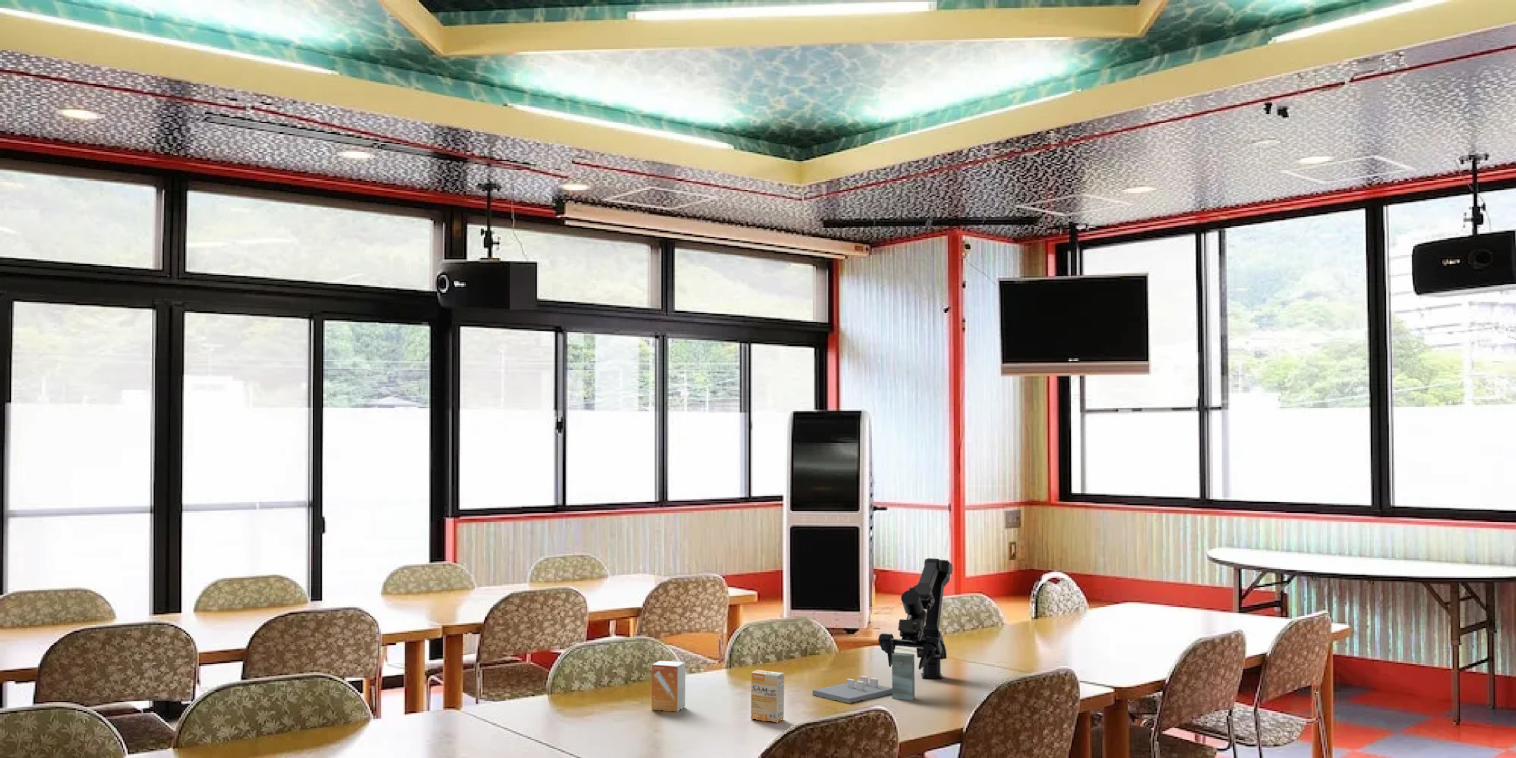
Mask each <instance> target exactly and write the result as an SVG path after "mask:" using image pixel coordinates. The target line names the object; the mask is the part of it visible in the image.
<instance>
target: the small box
mask: <svg viewBox="0 0 1516 758" xmlns="http://www.w3.org/2000/svg"><path fill="white" fill-rule="evenodd" d="M651 667H652V668H651V711H661V710H663V711H662V712H671V711H678V712H680V711H681V710H683V709H684V708H683V707H686V662H684V661H673V660H672V661H671V660H668V661H667V660H658V661H656V662H654V663H653V664H651ZM682 708H683V709H682ZM680 709H681V710H680ZM679 710H680V711H679Z"/></svg>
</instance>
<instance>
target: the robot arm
mask: <svg viewBox="0 0 1516 758" xmlns="http://www.w3.org/2000/svg"><path fill="white" fill-rule="evenodd" d="M923 565H924V567H923V569H922V572H921V575H920V576H919V580H918V583H917V584H915V585H914V586H912V587H909V589H908V590H906V591H904V592H903V593H902V594H901V597H900V600H901V602H902V606H903V609H904V612H905V614H906V619H904V618H903V619H902V618H901V619H898V627H897V630H898V631H899V637H901V638H895V637H894V635H893V633H883V632H882V633H880V634H879V635H878V639H877V641H878V644H879V647H880V649H881V651H883V652H885V654H887V661H888V667H889V668H892V654H894V653H896V652H895V651H896V647H906V648H913V649H916V657H917V658H920V659H919V663H918V670H922V672H921V673H920V675H921V678H922V679H943V675H942V673H941V667H942V666H941V663H942V662H941V661H942V660H946V659H947V648H946V644H945V642H944V637H943V635H942V633H941V631H940V626H941V625H940V624H941V617H942V615H941V614H942V606H943V599H944V598H943V597H944V588H945V587H946V586H947V585H948V583H949V582H950V580H951V575H953V564H952V563H951V562H950V561H949V560H948V559H939V558H936V557H935V558H932V557H931V558H930V557H929V558H925V559H924V563H923Z"/></svg>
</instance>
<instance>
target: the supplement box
mask: <svg viewBox="0 0 1516 758" xmlns="http://www.w3.org/2000/svg"><path fill="white" fill-rule="evenodd" d="M750 674H751V678H750V679H751V681H750V682H751V684H750V685H751V686H750V687H751V688H750V692H751V693H750V695H751V696H750V699H751V700H750V720H751V719H756V720H755V721H757V720H762V721H761V722H765V721H773V722H777V721H780V720H781V719H783V718H785V713H784V712H785V672H779V671H768V670H762V669H757V670H754V671H752V672H751V673H750ZM773 722H772V723H773ZM780 722H781V721H780Z"/></svg>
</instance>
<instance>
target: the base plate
mask: <svg viewBox="0 0 1516 758" xmlns="http://www.w3.org/2000/svg"><path fill="white" fill-rule="evenodd" d="M814 695H816V696H815V697H819V698H822V697H825V698H824V699H827V698H828V699H827V700H831V701H835V700H837V702H839V701H841V702H840V703H843V702H847V703H846V704H848V703H850V702H855V703H858V702H857V701H859V702H861V701H860V700H863V701H866V700H872V699H876V698H881V697H885V696H889V695H892V687H889V686H884V685H880V684H879V679H878V678H875V677H870V678H869V677H868V676H866V675H860V677H859V680H855V679H854V678H853V679H852V678H847V679H846V682H844V683H840V684H836V685H831V686H827V687H820V688H816V689H812V696H814ZM850 704H851V703H850Z"/></svg>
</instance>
